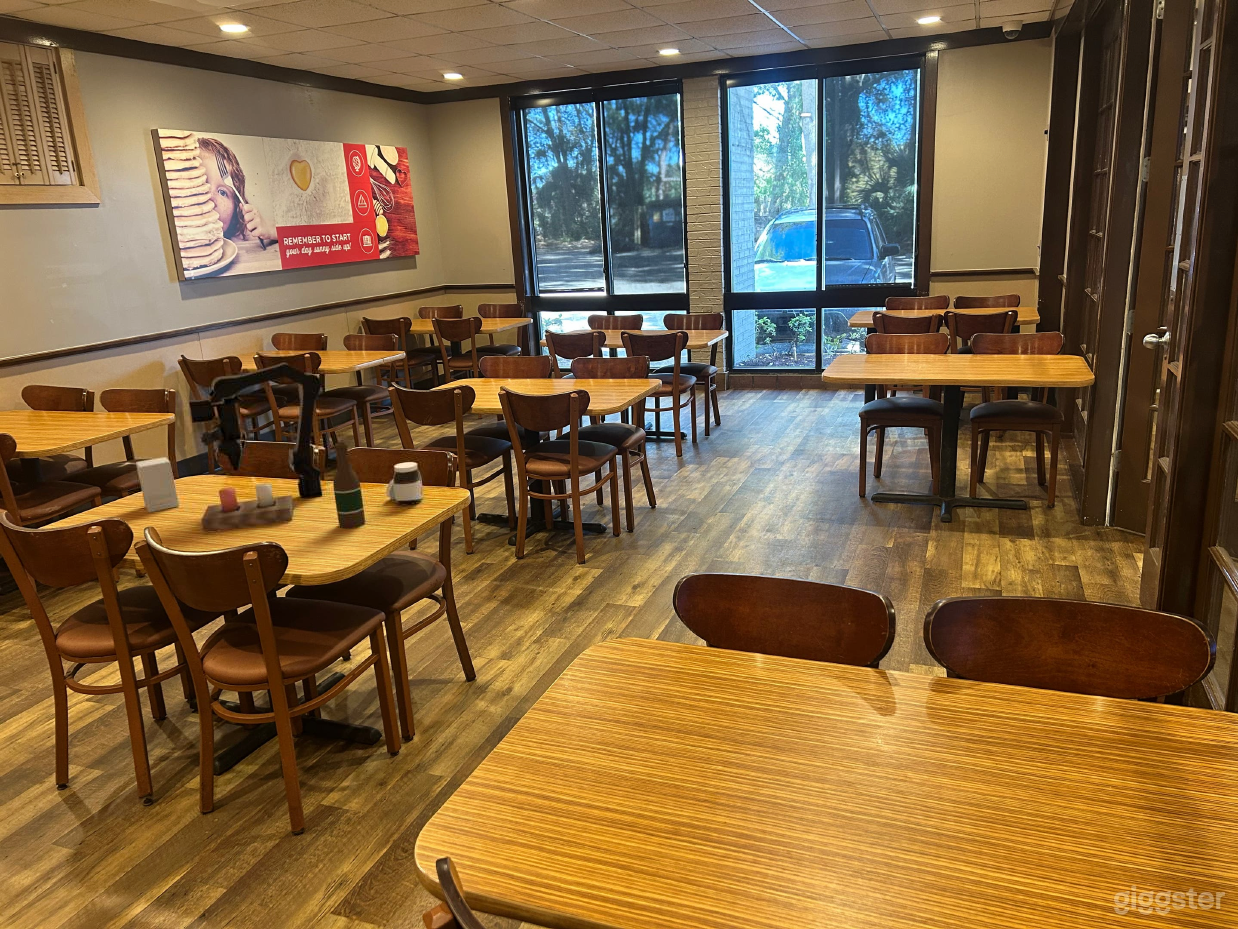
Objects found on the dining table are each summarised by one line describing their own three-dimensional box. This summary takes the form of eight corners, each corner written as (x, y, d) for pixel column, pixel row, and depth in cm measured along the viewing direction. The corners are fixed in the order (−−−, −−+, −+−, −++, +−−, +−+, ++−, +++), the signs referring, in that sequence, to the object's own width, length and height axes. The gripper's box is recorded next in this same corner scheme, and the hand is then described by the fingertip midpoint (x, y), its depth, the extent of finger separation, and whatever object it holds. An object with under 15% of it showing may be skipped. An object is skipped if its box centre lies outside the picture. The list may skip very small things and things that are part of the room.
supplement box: (175, 500, 289) (166, 456, 285) (179, 506, 282) (171, 461, 278) (144, 506, 284) (135, 461, 281) (148, 512, 277) (138, 466, 273)
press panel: (294, 507, 274) (292, 495, 273) (291, 520, 261) (289, 507, 260) (210, 518, 267) (207, 506, 266) (203, 532, 254) (201, 519, 253)
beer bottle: (361, 528, 250) (350, 445, 244) (334, 529, 251) (322, 447, 245) (369, 519, 258) (358, 439, 252) (343, 520, 258) (331, 440, 252)
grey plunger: (274, 501, 267) (271, 482, 266) (273, 505, 263) (270, 486, 261) (258, 503, 266) (255, 484, 264) (257, 507, 262) (254, 488, 260)
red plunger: (239, 506, 264) (235, 487, 263) (237, 510, 260) (234, 490, 259) (223, 508, 263) (219, 489, 262) (221, 512, 259) (217, 492, 258)
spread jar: (418, 505, 269) (414, 468, 265) (381, 507, 269) (376, 470, 266) (427, 494, 280) (423, 458, 277) (392, 496, 280) (387, 460, 277)
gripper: (204, 416, 275) (213, 464, 280) (195, 427, 258) (204, 479, 262) (242, 411, 278) (250, 459, 283) (236, 423, 261) (245, 474, 265)
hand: (237, 468), depth 273 cm, fingers open, 6 cm apart
